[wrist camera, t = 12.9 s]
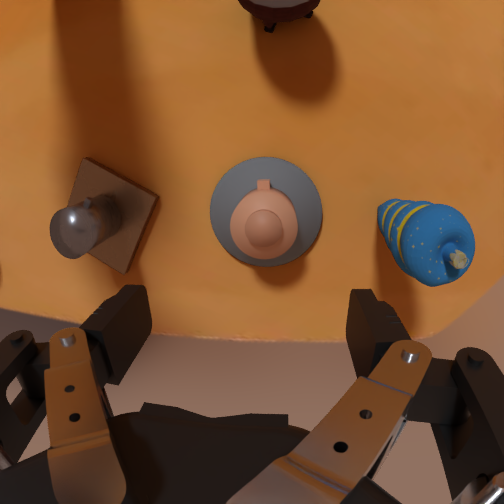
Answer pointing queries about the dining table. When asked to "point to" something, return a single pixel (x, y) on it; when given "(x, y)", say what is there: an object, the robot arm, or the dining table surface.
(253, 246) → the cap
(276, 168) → the coaster
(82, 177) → the cylinder on square base
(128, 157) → the dining table surface
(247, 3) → the mate gourd
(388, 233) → the ornament
